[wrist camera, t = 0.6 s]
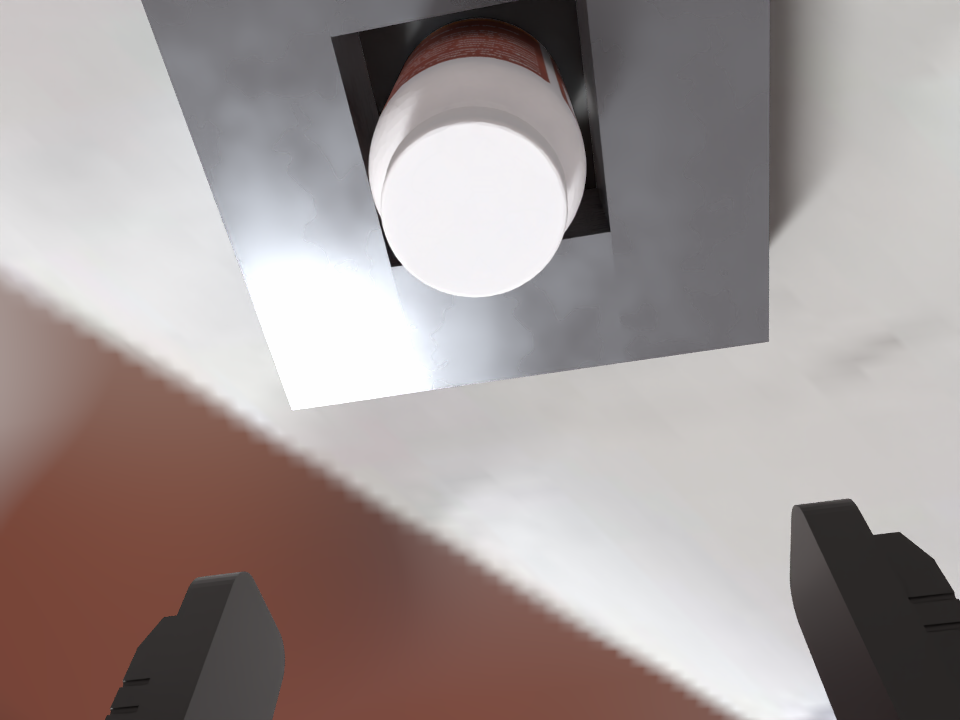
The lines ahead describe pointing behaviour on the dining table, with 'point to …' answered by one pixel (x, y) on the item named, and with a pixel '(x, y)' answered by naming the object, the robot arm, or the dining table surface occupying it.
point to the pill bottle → (477, 159)
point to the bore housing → (585, 244)
